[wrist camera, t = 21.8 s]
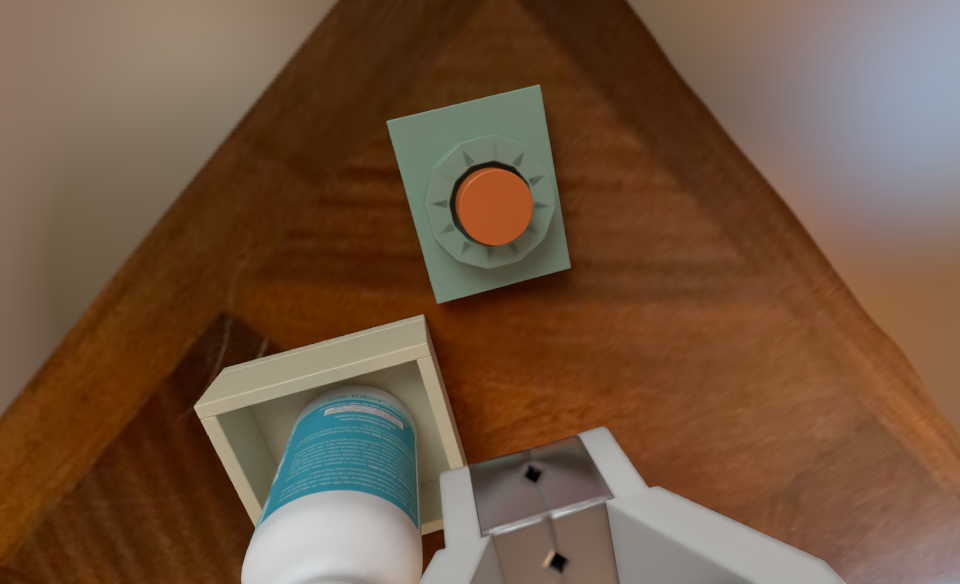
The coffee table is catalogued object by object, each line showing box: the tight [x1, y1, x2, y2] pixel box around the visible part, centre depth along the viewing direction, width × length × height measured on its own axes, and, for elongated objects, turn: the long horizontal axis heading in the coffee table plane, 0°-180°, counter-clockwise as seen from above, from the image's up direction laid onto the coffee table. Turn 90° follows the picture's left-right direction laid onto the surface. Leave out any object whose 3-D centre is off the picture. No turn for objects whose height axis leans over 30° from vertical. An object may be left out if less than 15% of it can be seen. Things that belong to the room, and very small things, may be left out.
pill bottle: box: [241, 385, 423, 584], centre depth 23 cm, size 8×7×14 cm
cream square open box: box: [194, 314, 468, 535], centre depth 28 cm, size 12×12×4 cm
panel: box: [387, 85, 571, 304], centre depth 25 cm, size 10×8×4 cm
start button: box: [455, 167, 533, 246], centre depth 23 cm, size 4×4×2 cm
